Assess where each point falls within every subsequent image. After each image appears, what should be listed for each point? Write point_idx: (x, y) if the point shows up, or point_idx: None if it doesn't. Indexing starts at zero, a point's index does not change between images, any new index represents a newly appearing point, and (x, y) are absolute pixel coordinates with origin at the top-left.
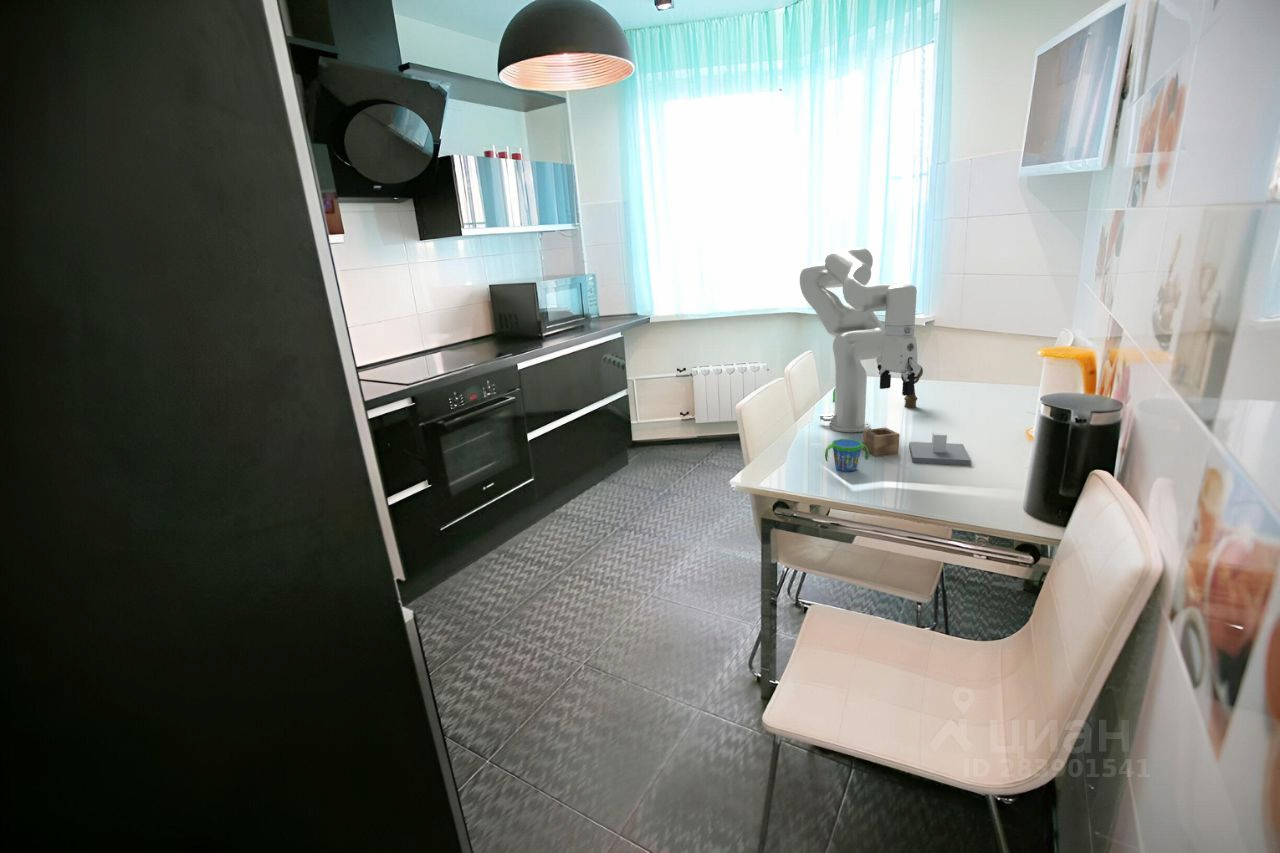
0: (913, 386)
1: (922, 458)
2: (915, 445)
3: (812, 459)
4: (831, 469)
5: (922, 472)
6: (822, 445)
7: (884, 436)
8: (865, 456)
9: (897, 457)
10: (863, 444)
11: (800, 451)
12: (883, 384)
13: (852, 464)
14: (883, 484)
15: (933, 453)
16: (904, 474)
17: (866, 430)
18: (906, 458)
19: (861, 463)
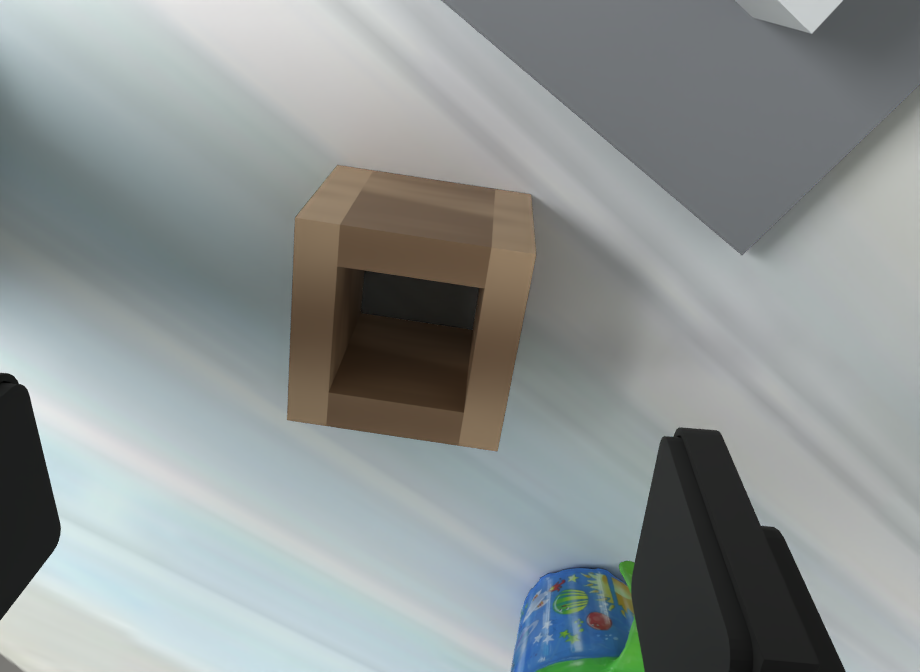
0: (759, 541)
1: (795, 202)
2: (531, 11)
3: (363, 645)
4: None
5: (904, 319)
6: (148, 485)
7: (509, 387)
8: (624, 570)
9: (586, 251)
10: (639, 661)
11: (213, 626)
12: (8, 565)
13: None
14: (871, 596)
15: (783, 43)
16: (848, 428)
17: (307, 409)
18: (639, 213)
19: (553, 499)
